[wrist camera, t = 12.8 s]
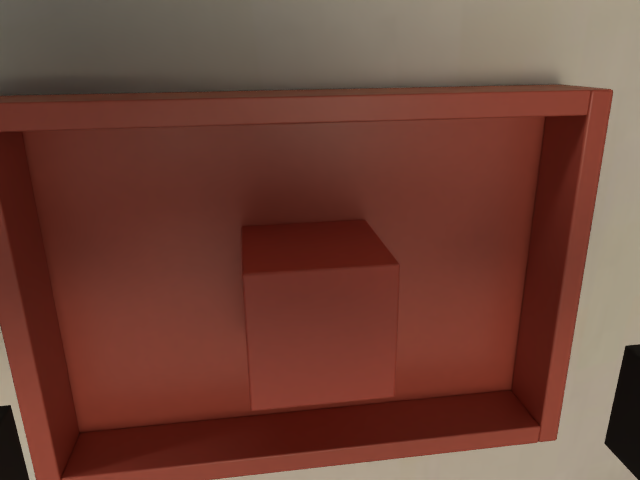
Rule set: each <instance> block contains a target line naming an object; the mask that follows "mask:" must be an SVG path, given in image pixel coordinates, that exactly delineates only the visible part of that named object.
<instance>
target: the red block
mask: <svg viewBox="0 0 640 480" xmlns="http://www.w3.org/2000/svg"><path fill="white" fill-rule="evenodd" d="M241 247H242V286H243V301H244V317H245V332H246V348H247V364H248V379H249V395H250V408H251V410H252V411H256V410H267V409H277V408H287V407H297V406H307V405H318V404H328V403H338V402H348V401H358V400H369V399H379V398H389V397H394V396H395V381H396V357H397V332H398V308H399V283H400V264H399V263H398V261H397V260H396V259H395V257H394V256H393V255H392V253H391V252H390V251H389V250H388V248H387V247H386V246H385V244H384V243H383V242H382V241H381V239H380V238H379V237H378V235H377V234H376V233H375V231H374V230H373V229H372V228H371V226H370V225H369V224H368V222H367V221H366V220H348V221H329V222H310V223H291V224H273V225H254V226H243V227H242V228H241Z"/></svg>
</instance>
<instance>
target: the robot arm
mask: <svg viewBox="0 0 640 480" xmlns="http://www.w3.org/2000/svg"><path fill="white" fill-rule="evenodd" d="M605 445H606V446H607V447H608V448H609V449H610V450H611V451H612V452H613V453H614V454H615V455H616V456H617V457H618V458H619V460H620V461H621V462H622V463H623V464H624V465H625V466H626V467H627V468H628V469H629V470H630V471H631V472H632V474H633V475H634V476H635V477H636V478H637V479H638V480H640V345H630V346H625V351H624V356H623V360H622V365H621V369H620V374H619V379H618V383H617V388H616V393H615V397H614V402H613V406H612V411H611V416H610V420H609V425H608V429H607V434H606V439H605ZM0 480H29V477H28V473H27V469H26V465H25V461H24V457H23V453H22V449H21V445H20V441H19V437H18V433H17V429H16V425H15V421H14V417H13V413H12V409H11V405H8V406H0Z"/></svg>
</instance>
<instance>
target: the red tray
mask: <svg viewBox="0 0 640 480" xmlns="http://www.w3.org/2000/svg"><path fill="white" fill-rule="evenodd" d="M612 96H613V90H611V89H603V88H592V87H581V86H570V85H509V86H459V87H410V88H360V89H311V90H261V91H211V92H162V93H112V94H63V95H13V96H0V326H1V330H2V334H3V339H4V343H5V347H6V352H7V356H8V360H9V364H10V369H11V373H12V377H13V382H14V386H15V390H16V395H17V399H18V403H19V408H20V412H21V416H22V421H23V425H24V429H25V433H26V438H27V442H28V446H29V451H30V455H31V459H32V464H33V468H34V472H35V477H36V480H211V479H220V478H229V477H238V476H247V475H255V474H264V473H273V472H282V471H291V470H299V469H308V468H317V467H326V466H335V465H343V464H352V463H361V462H370V461H379V460H388V459H396V458H405V457H414V456H423V455H432V454H440V453H449V452H458V451H467V450H476V449H484V448H493V447H502V446H511V445H520V444H529V443H537V442H538V441H539V442H544V441H553V440H556V439H557V433H558V427H559V421H560V415H561V409H562V403H563V396H564V390H565V384H566V378H567V372H568V366H569V360H570V353H571V347H572V341H573V335H574V329H575V323H576V317H577V311H578V304H579V298H580V292H581V286H582V280H583V274H584V268H585V261H586V255H587V249H588V243H589V237H590V231H591V225H592V218H593V212H594V206H595V200H596V194H597V188H598V182H599V176H600V169H601V163H602V157H603V151H604V145H605V139H606V133H607V126H608V120H609V114H610V108H611V102H612ZM348 220H366V221H367V222H368V224H369V225H370V226H371V228H372V229H373V230H374V231H375V233H376V234H377V235H378V237H379V238H380V239H381V241H382V242H383V243H384V244H385V246H386V247H387V248H388V250H389V251H390V252H391V253H392V255H393V256H394V257H395V259H396V260H397V261H398V263H399V264H400V283H399V308H398V332H397V357H396V381H395V396H394V397H389V398H379V399H369V400H358V401H348V402H338V403H328V404H318V405H307V406H297V407H287V408H277V409H267V410H256V411H252V410H251V408H250V395H249V379H248V364H247V348H246V332H245V317H244V301H243V286H242V247H241V228H242V227H243V226H254V225H273V224H291V223H310V222H329V221H348Z"/></svg>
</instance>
